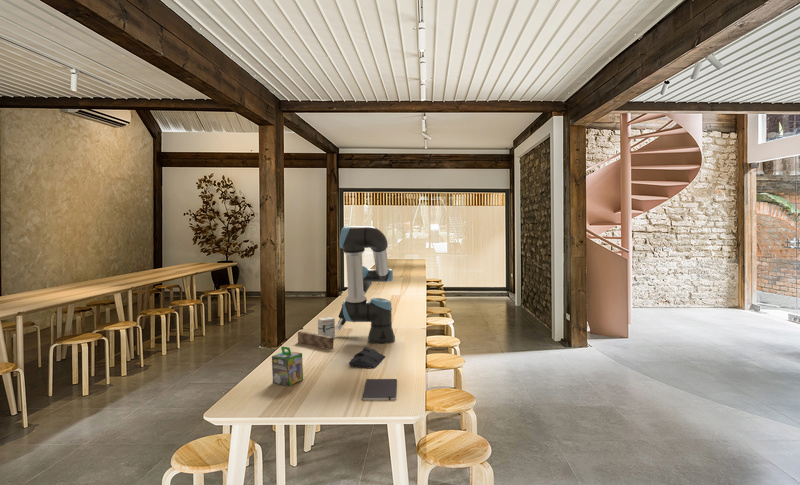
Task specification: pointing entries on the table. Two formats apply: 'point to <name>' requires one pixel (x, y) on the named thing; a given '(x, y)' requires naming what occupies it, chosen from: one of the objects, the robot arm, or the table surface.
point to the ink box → (326, 326)
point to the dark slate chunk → (367, 358)
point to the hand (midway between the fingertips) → (337, 328)
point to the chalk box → (287, 367)
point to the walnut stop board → (315, 340)
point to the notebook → (380, 389)
